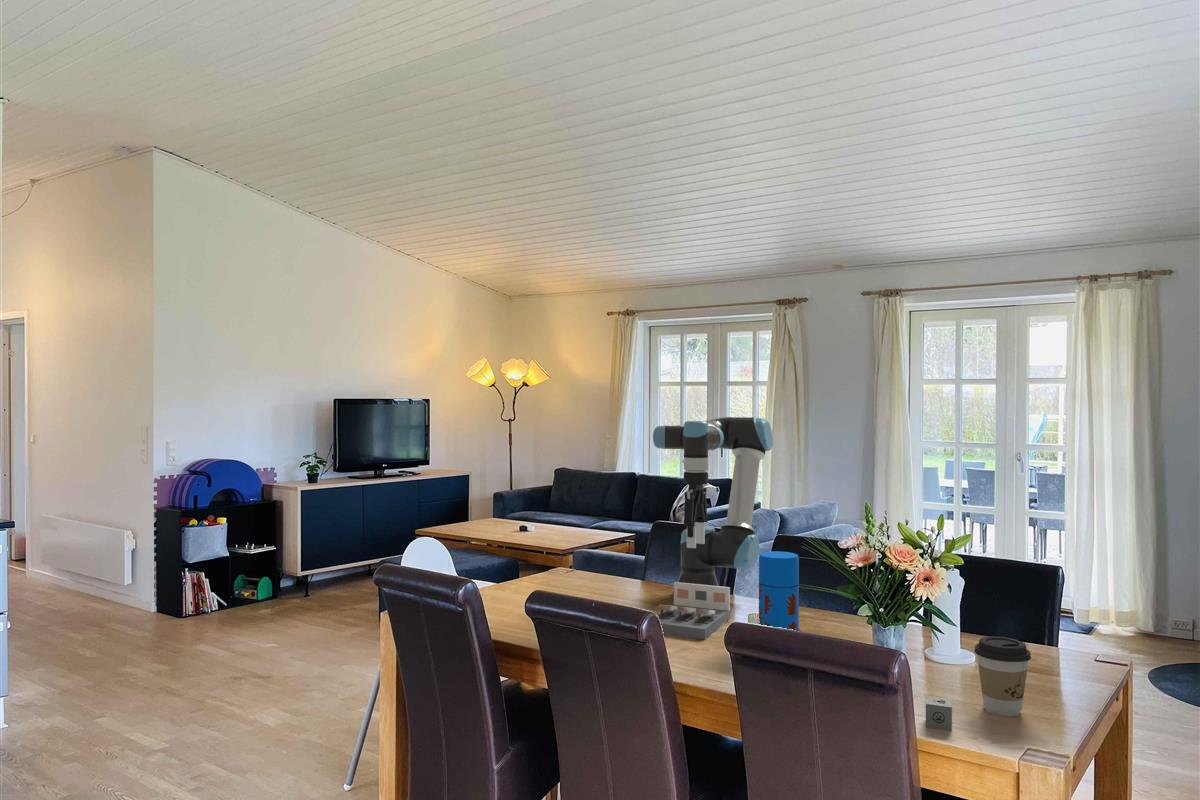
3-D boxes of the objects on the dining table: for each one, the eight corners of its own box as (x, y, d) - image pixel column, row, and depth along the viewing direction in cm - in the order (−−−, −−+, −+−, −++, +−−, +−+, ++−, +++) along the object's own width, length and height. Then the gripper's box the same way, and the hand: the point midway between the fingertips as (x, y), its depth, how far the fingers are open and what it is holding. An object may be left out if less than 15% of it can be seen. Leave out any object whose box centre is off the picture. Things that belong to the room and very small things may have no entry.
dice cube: (951, 731, 174) (951, 707, 174) (925, 727, 176) (925, 703, 176) (951, 723, 178) (951, 699, 178) (926, 719, 180) (926, 696, 180)
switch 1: (667, 609, 259) (668, 605, 259) (677, 610, 258) (677, 606, 258) (658, 608, 252) (658, 604, 252) (667, 609, 251) (668, 605, 251)
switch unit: (674, 613, 269) (674, 581, 269) (729, 619, 261) (729, 587, 261) (646, 632, 247) (646, 597, 247) (705, 639, 239) (705, 604, 239)
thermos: (796, 640, 239) (796, 551, 239) (801, 651, 229) (801, 558, 229) (757, 638, 240) (757, 550, 240) (760, 650, 230) (760, 558, 230)
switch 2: (686, 611, 256) (686, 607, 257) (695, 612, 255) (696, 608, 255) (677, 610, 249) (677, 606, 250) (687, 612, 248) (687, 607, 248)
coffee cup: (1005, 723, 178) (1005, 652, 178) (962, 705, 188) (962, 638, 188) (1043, 715, 182) (1043, 646, 182) (999, 698, 193) (999, 632, 193)
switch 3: (705, 613, 254) (705, 609, 254) (714, 614, 252) (715, 610, 253) (696, 613, 247) (697, 608, 247) (706, 614, 245) (707, 609, 246)
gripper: (695, 468, 270) (695, 539, 270) (672, 473, 252) (672, 550, 252) (717, 469, 267) (717, 541, 267) (696, 474, 249) (696, 552, 249)
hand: (695, 545), depth 260 cm, fingers open, 8 cm apart
